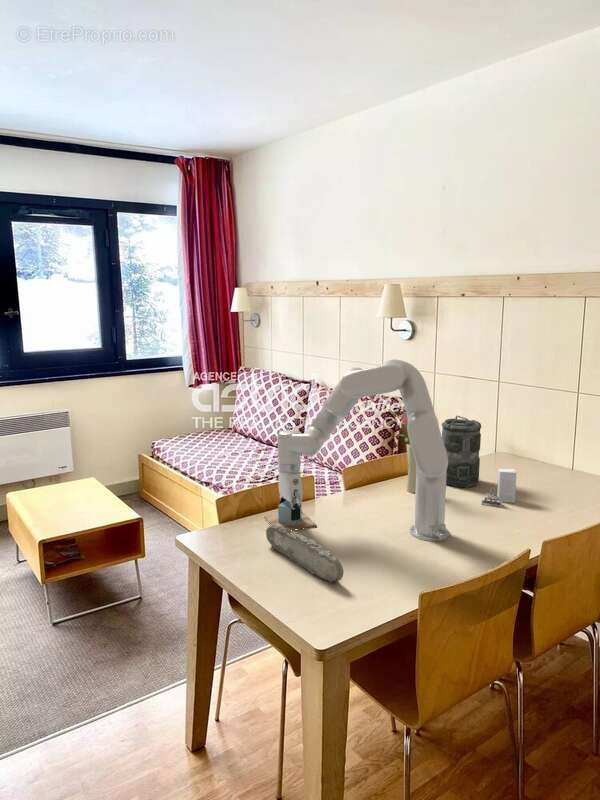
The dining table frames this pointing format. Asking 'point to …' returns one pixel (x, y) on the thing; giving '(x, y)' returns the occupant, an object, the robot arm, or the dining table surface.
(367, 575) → the dining table surface
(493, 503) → the silver ball pyramid
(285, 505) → the dusty teal cube
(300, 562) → the elongated rock
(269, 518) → the post block
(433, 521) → the robot arm
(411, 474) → the flower vase
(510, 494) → the skincare box
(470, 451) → the canister
